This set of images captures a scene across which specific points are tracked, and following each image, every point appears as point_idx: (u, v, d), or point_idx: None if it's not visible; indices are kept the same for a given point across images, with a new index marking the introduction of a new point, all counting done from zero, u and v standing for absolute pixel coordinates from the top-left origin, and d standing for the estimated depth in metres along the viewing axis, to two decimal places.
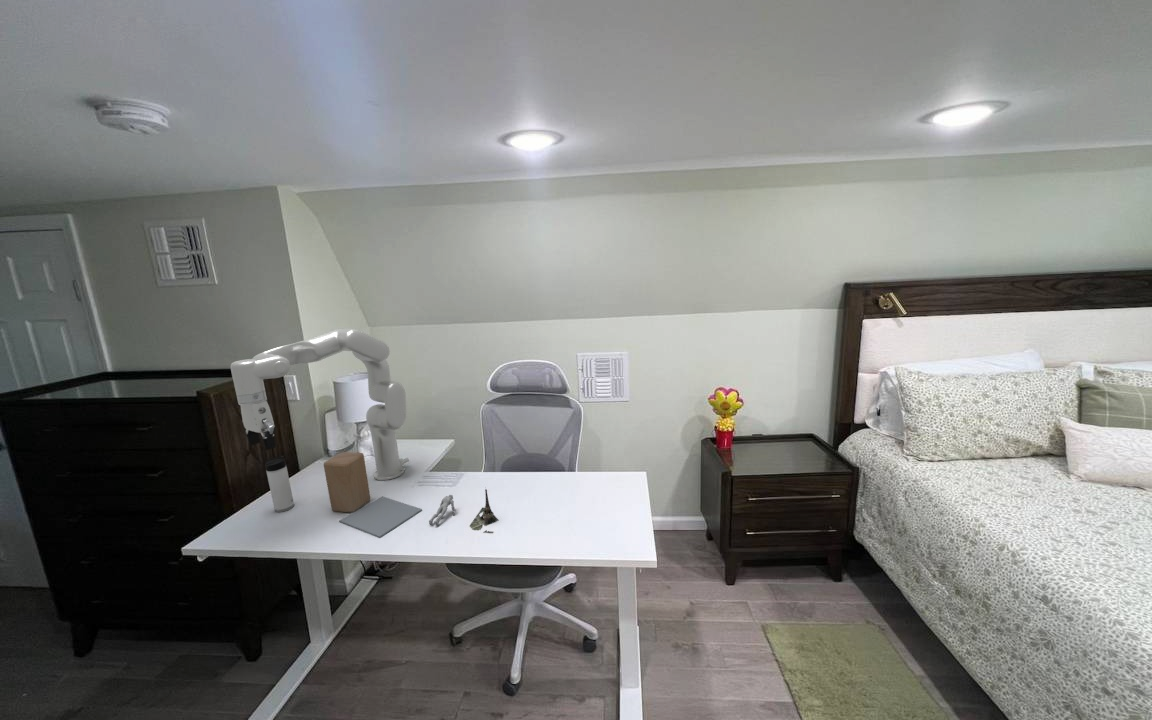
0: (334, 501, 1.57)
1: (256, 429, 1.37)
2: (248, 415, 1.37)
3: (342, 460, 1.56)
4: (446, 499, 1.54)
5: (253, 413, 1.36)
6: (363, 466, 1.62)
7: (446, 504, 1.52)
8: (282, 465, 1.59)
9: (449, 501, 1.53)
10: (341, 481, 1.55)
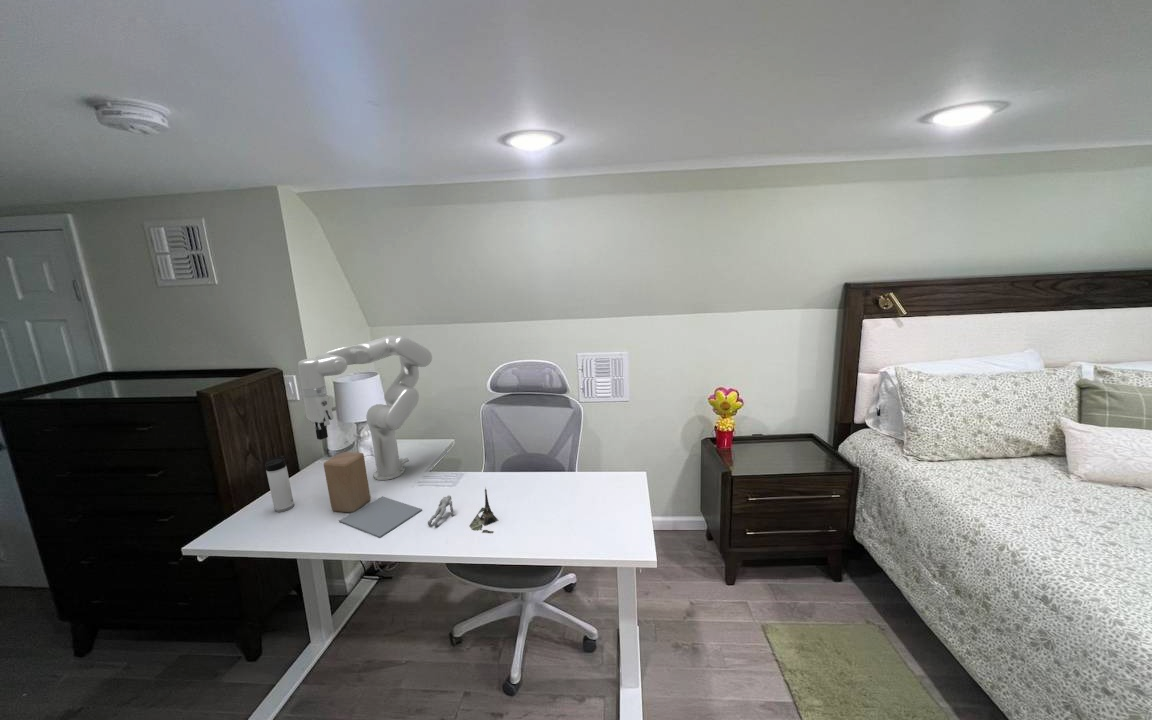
0: (334, 501, 1.57)
1: (318, 419, 1.57)
2: (312, 407, 1.57)
3: (342, 460, 1.56)
4: (444, 500, 1.53)
5: (317, 406, 1.56)
6: (363, 466, 1.62)
7: (445, 505, 1.52)
8: (282, 465, 1.59)
9: (448, 502, 1.53)
10: (341, 481, 1.55)
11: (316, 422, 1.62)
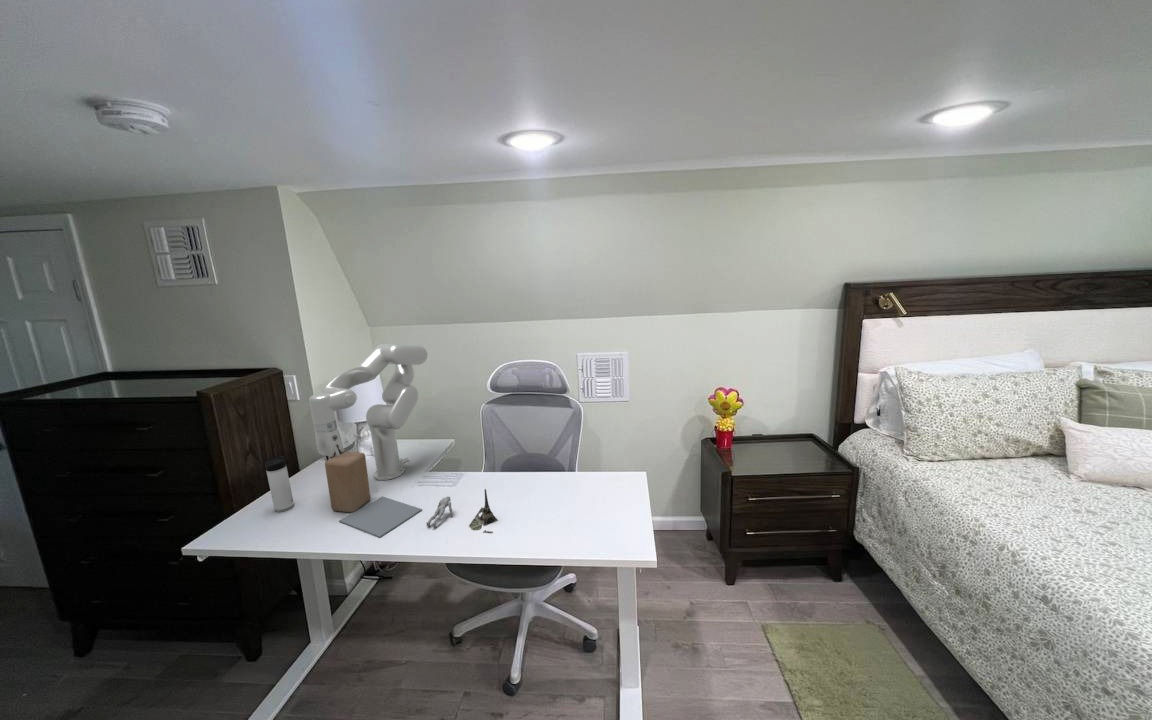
0: (334, 500, 1.57)
1: (329, 454, 1.59)
2: (322, 442, 1.58)
3: (343, 460, 1.55)
4: (443, 501, 1.52)
5: (328, 440, 1.57)
6: (364, 466, 1.62)
7: (443, 506, 1.51)
8: (282, 465, 1.59)
9: (446, 503, 1.52)
10: (342, 481, 1.55)
11: (327, 455, 1.63)
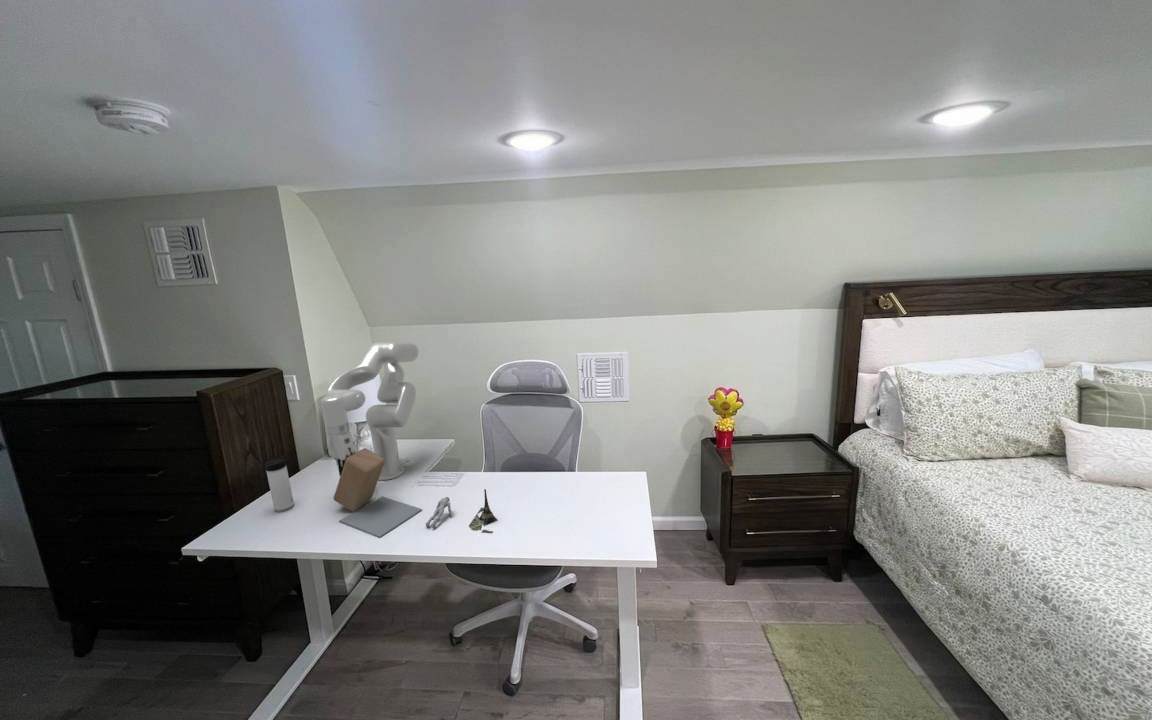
0: (339, 493, 1.56)
1: (341, 457, 1.55)
2: (334, 445, 1.55)
3: (365, 463, 1.54)
4: (442, 501, 1.52)
5: (340, 443, 1.54)
6: (380, 472, 1.60)
7: (443, 506, 1.51)
8: (282, 465, 1.59)
9: (446, 503, 1.52)
10: (356, 483, 1.53)
11: (338, 458, 1.60)
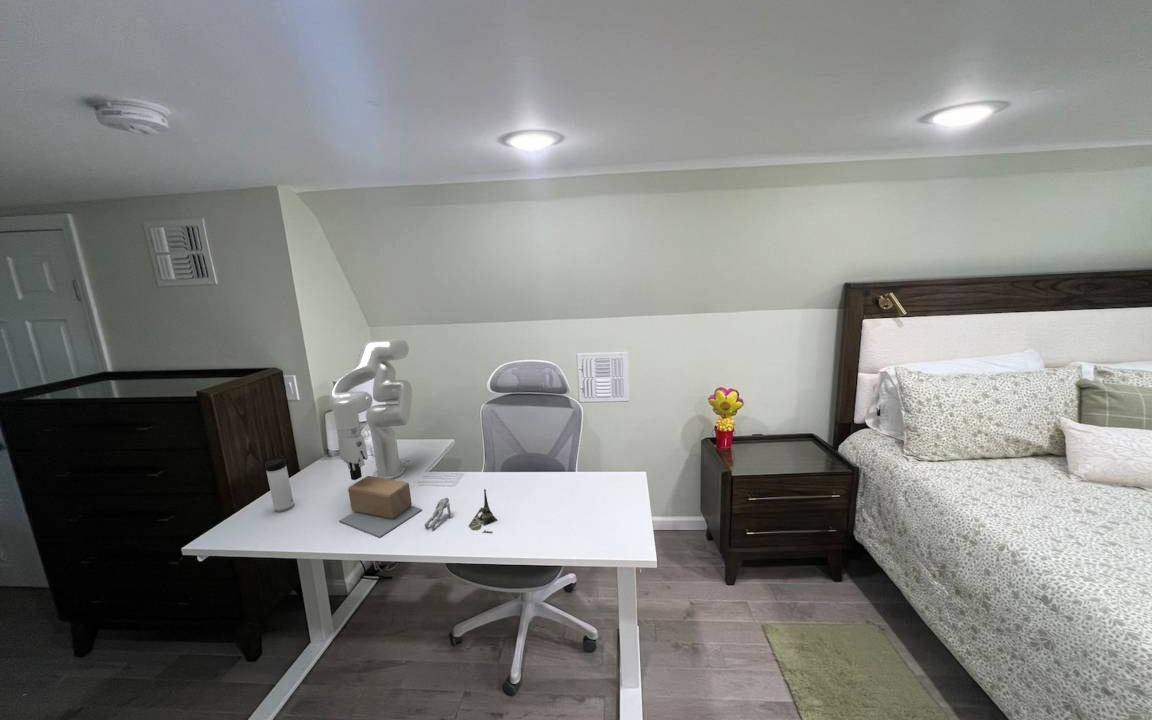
0: (357, 494, 1.54)
1: (353, 460, 1.52)
2: (346, 448, 1.52)
3: (397, 508, 1.52)
4: (442, 502, 1.52)
5: (352, 446, 1.51)
6: None
7: (442, 507, 1.51)
8: (282, 465, 1.59)
9: (445, 504, 1.51)
10: (376, 510, 1.52)
11: (350, 462, 1.57)
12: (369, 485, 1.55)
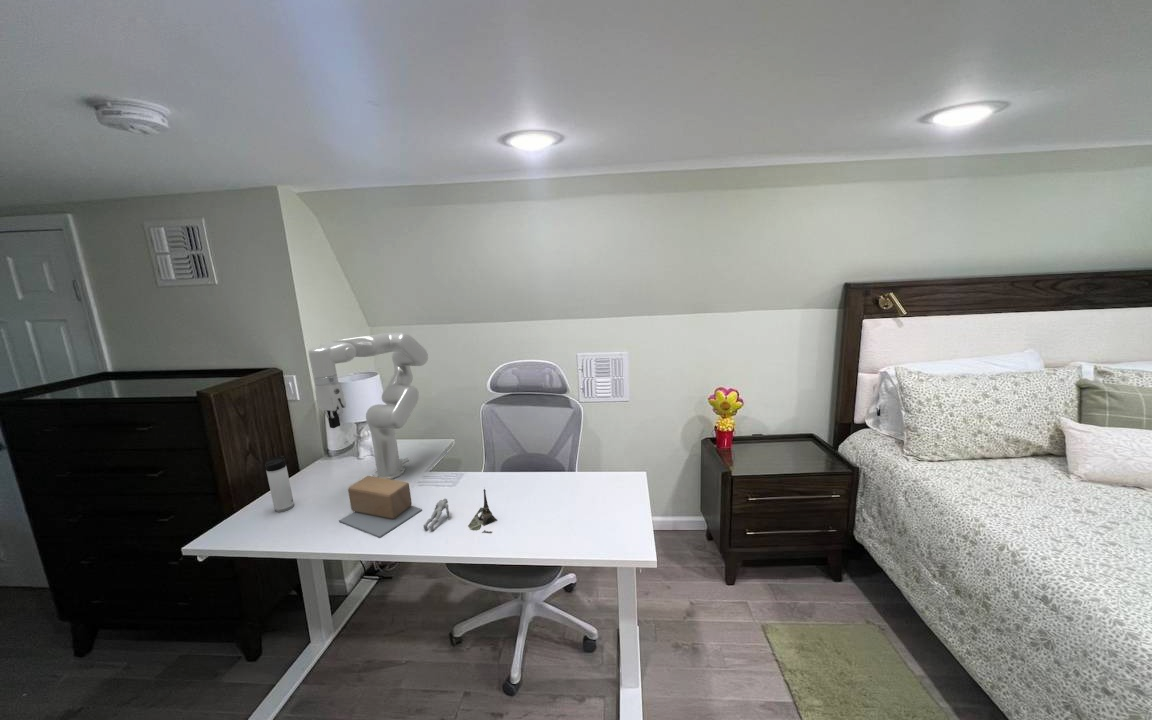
0: (357, 494, 1.54)
1: (332, 408, 1.56)
2: (324, 396, 1.55)
3: (397, 508, 1.52)
4: (441, 503, 1.51)
5: (330, 394, 1.54)
6: None
7: (441, 508, 1.50)
8: (282, 465, 1.59)
9: (444, 505, 1.51)
10: (376, 510, 1.52)
11: None
12: (369, 485, 1.55)
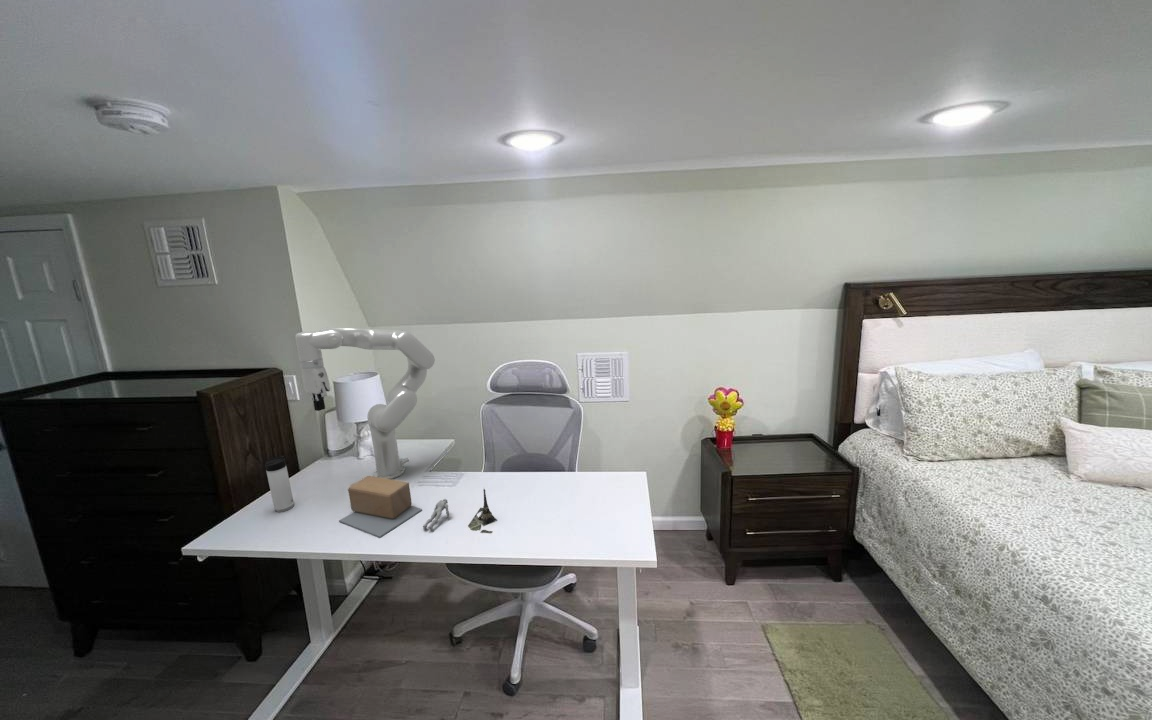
0: (357, 494, 1.54)
1: (316, 391, 1.61)
2: (309, 379, 1.61)
3: (397, 508, 1.52)
4: (440, 503, 1.51)
5: (314, 377, 1.60)
6: None
7: (440, 509, 1.50)
8: (282, 465, 1.59)
9: (443, 505, 1.50)
10: (376, 510, 1.52)
11: (314, 394, 1.66)
12: (369, 485, 1.55)
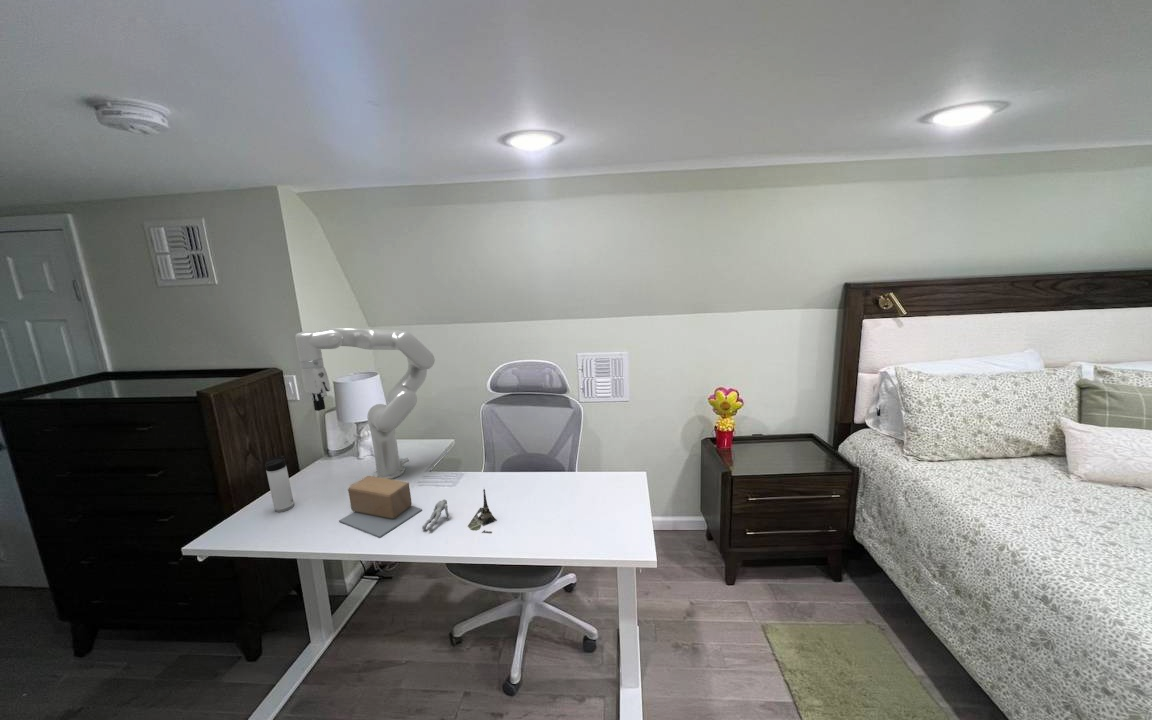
0: (357, 494, 1.54)
1: (316, 391, 1.61)
2: (309, 379, 1.61)
3: (397, 508, 1.52)
4: (440, 504, 1.50)
5: (314, 377, 1.60)
6: None
7: (440, 509, 1.49)
8: (282, 465, 1.59)
9: (443, 506, 1.50)
10: (376, 510, 1.52)
11: (314, 394, 1.66)
12: (369, 485, 1.55)
